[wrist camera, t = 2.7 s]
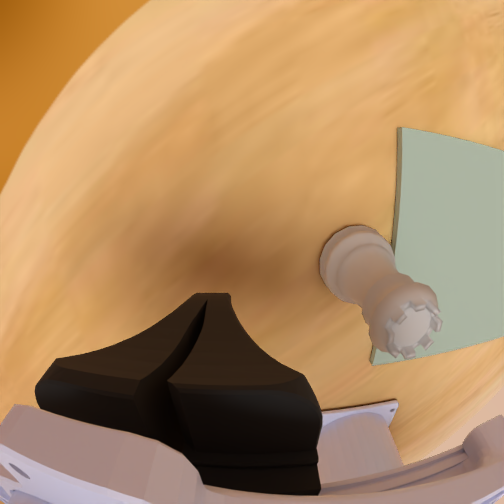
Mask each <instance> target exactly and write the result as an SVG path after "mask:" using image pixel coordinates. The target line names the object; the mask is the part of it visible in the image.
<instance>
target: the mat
mask: <svg viewBox="0 0 504 504" xmlns="http://www.w3.org/2000/svg"><path fill="white" fill-rule="evenodd" d="M397 139H398V148H397V184H396V201H395V214H394V225H393V235H392V244H391V248H392V251H393V254H394V257H395V265H396V269H397V270H398V272H399V273H402V274H405V275H408V276H410V277H411V279H412V280H413V281H414V282H419V283H422V284H425V285H428V286H430V288H431V289H432V290H433V291H434V292H435V294H436V296H437V302H438V309H439V310H440V311H441V312H440V313H439V314H438V315H437V316H438V317H439V318H440V319H441V320H442V321H443V322H442V326H441V331H440V332H435V331H434V330H432V332H431V334H430V335H429V336H430V337H431V339H432V340H433V341H434V343H433V344H432V345H431V346H430V347H429V348H428V349H427V350H426V351H425V349H424V348H423V347H422V345H419V346H418V347H416V348H414V350H415V352H416V357H414V358H410V359H406V360H411V359H416V358H421V357H426V356H431V355H436V354H440V353H444V352H449V351H453V350H457V349H461V348H465V347H469V346H473V345H476V344H480V343H483V342H487V341H490V340H494V339H497V338H500V337H503V336H504V151H502V150H499V149H496V148H492V147H489V146H485V145H482V144H478V143H474V142H471V141H467V140H463V139H459V138H454V137H450V136H446V135H441V134H436V133H431V132H426V131H421V130H415V129H410V128H404V127H400V128H397ZM399 361H405V359H404V357H403V356H402V354H401V353H400V354H399V355H398V357H397V358H395V357H393V356H392V355H391V354H389V353H388V352H382V351H380V350H379V349H378V348H376V347H375V346H374V345H373V349H372V354H371V357H370V362H371V364H372V366H374V365H381V364H387V363H394V362H399Z"/></svg>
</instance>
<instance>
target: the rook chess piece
mask: <svg viewBox="0 0 504 504" xmlns="http://www.w3.org/2000/svg"><path fill="white" fill-rule="evenodd" d="M320 275H321V277H322V279H323V281H324V283H325V285H326V286H327V287H328V288H329V290H330V292H331V293H333V294H334V295H335V296H336V297H338V298H339V299H340V300H342V301H345V302H349V303H353V304H358V305H359V306H360V307H361V308H362V314H363V317H364V320H365V322H366V323H367V324H368V325H370V326H369V336H370V339H371V341H372V344H373V345H374V346H375V347H376V348H378V349H379V350H380V351H382V352H388V353H389V354H391V355H392V356H393V357H395V358H397V357H398V355H399V354H400V353H401V354H402V356H403V357H404V359H405V360H406V359H410V358H414V357H416V352H415V350H414V348H416V347H418V346H419V345H422V347H423V348H424V349H425V351H426V350H427V349H428V348H429V347H430V346H431V345H432V344H433V343H434V341H433V340H432V339H431V337H430V336H429V335H430V334H431V332H432V330H434V331H435V332H440V331H441V326H442V322H443V321H442V320H441V319H440V318H439V317H438V316H437V315H438V314H439V313H440V312H441V311H440V310H439V309H438V302H437V296H436V294H435V292H434V291H433V290H432V289H431V288H430V286H428V285H425V284H422V283H419V282H414V281H413V280H412V279H411V277H410V276H408V275H405V274H402V273H399V272H398V270H397V269H396V265H395V257H394V254H393V251H392V248H391V246H390V244H389V243H388V242H387V241H386V240H385V239H384V238H383V237H382V236H381V235H380V234H379V233H378V232H377V231H376V230H375V229H372V228H369V227H366V226H363V225H360V226H349V227H347V228H345V229H343V230H341V231H339V232H337V233H335V234H334V236H333V237H332V238H331V239H330V240H329V241H328V242H327V243H326V245H325V246H324V249H323V252H322V254H321V257H320Z"/></svg>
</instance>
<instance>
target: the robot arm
mask: <svg viewBox="0 0 504 504" xmlns="http://www.w3.org/2000/svg"><path fill="white" fill-rule="evenodd" d="M35 396H36V400H37V403H38V405H39V407H40V409H39V408H36V407H34V406H27V405H18V404H15V405H14V406H13V407H12V409H11V410H10V412H9V413H8V414H7V416H6V417H5V419H4V420H3V422H2V423H1V424H0V500H1V501H2V502H3V503H5V504H494V503H495V502H496V501H497V500H499V499H500V498H501V497H502V496H503V495H504V417H503V416H502V415H499V416H497V417H495V418H493V419H491V420H489V421H487V422H485V423H482V424H480V425H479V426H477V427H476V428H474V429H473V430H472V431H471V432H470V433H469V434H468V435H467V437H466V438H465V440H464V442H463V444H462V445H460V446H457V447H455V448H453V449H450V450H448V451H445V452H443V453H440V454H438V455H435V456H432V457H429V458H427V459H424V460H421V461H418V462H415V463H412V464H408V465H405V466H404V465H403V462H402V460H401V457H400V455H399V452H398V450H397V447H396V445H395V442H394V440H393V437H392V435H391V433H390V430H389V428H388V427H389V425H390V423H391V421H392V419H393V417H394V415H395V412H396V410H397V408H398V406H399V403H398V401H397V400H393V401H388V402H383V403H378V404H372V405H367V406H360V407H354V408H347V409H340V410H332V411H323V412H321V409H320V406H319V403H318V401H317V398H316V396H315V394H314V392H313V390H312V388H311V386H310V384H309V383H308V381H307V379H306V377H305V376H304V375H303V374H301V373H299V372H297V371H295V370H293V369H291V368H289V367H287V366H285V365H283V364H281V363H280V362H278V361H276V360H275V359H273V358H272V357H270V356H269V355H268V354H267V353H266V352H264V351H263V350H262V349H261V348H260V347H259V346H258V345H257V344H256V343H255V342H254V341H253V340H252V339H251V338H250V336H249V335H248V334H247V333H246V331H245V330H244V328H243V327H242V325H241V324H240V322H239V320H238V318H237V316H236V314H235V312H234V310H233V308H232V305H231V296H230V295H229V294H228V293H196V294H194V295H193V296H192V297H190V298H189V299H188V300H187V301H185V302H184V303H183V304H182V305H181V306H179V307H178V308H177V309H176V310H174V311H173V312H172V313H171V314H169V315H168V316H166V317H165V318H163V319H162V320H161V321H159V322H158V323H156V324H155V325H153V326H152V327H150V328H148V329H147V330H145V331H143V332H141V333H139V334H137V335H135V336H133V337H131V338H129V339H127V340H124V341H122V342H119V343H117V344H115V345H112V346H109V347H106V348H103V349H100V350H96V351H93V352H89V353H85V354H80V355H75V356H69V357H63V358H56V359H55V361H54V362H53V363H52V365H51V366H50V367H49V369H48V370H47V371H46V372H45V374H44V375H43V376H42V378H41V379H40V380H39V382H38V383H37V384H36V387H35Z"/></svg>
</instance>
